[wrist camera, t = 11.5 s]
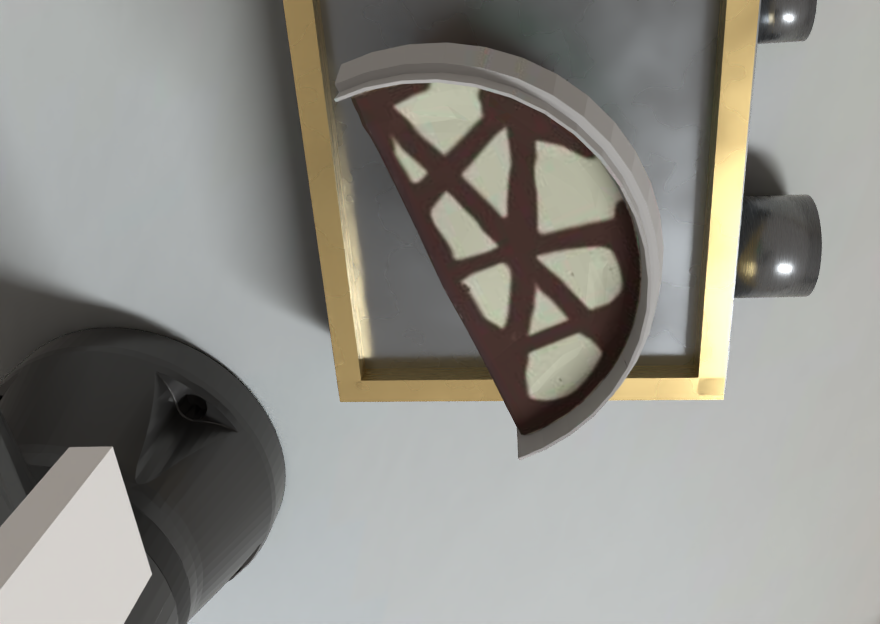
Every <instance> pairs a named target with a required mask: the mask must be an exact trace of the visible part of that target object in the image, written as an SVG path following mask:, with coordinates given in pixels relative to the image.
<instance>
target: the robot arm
mask: <svg viewBox="0 0 880 624" xmlns="http://www.w3.org/2000/svg"><path fill="white" fill-rule="evenodd" d="M285 477H286V475H285V463H284V457H283V452H282V448H281V445H280V442H279V439H278V436H277V434H276V431H275V429H274V427H273V425H272V423H271V421H270V419H269V418H268V416H267V414H266V413H265V411H264V410H263V408H262V407H261V405H260V404H259V402H258V401H257V400H256V399H255V397H254V396H253V395H252V394H251V393H250V391H249V390H248V389H247V388H246V387H245V386H244V385H243V384H242V383H241V382H240V381H239V380H238V379H237V378H236V377H235V376H233V375H232V374H231V373H230V372H229V371H228V370H226V369H225V368H224V367H222V366H221V365H220V364H218V363H217V362H215V361H214V360H212V359H211V358H209V357H208V356H206V355H204V354H202V353H201V352H199V351H197V350H195V349H193V348H191V347H189V346H187V345H185V344H183V343H180V342H178V341H175V340H173V339H170V338H167V337H164V336H161V335H157V334H154V333H149V332H145V331H140V330H133V329H124V328H96V329H88V330H83V331H78V332H74V333H70V334H67V335H64V336H62V337H59V338H56V339H54V340H52V341H50V342H48V343H47V344H45V345H43V346H42V347H40V348H39V349H37V350H36V351H35V352H33V353H32V354H31V355H30V356H29V357H28V358H27V359H25V360H24V361H23V362H22V363H21V364H20V365H19V366H17V367H16V368H15V369H14V370H13V371H12V372H11V373H10V374H9V375H7V376H6V377H5V378H4V379H3V381H2V382H1V383H0V624H187V622H188V621H189V620H190V619H191V618H192V617H193V616H194V615H195V614H196V613H197V612H198V611H199V610H200V609H201V608H202V607H203V606H204V605H205V604H206V603H207V602H208V601H209V600H210V599H211V598H212V597H213V596H214V595H215V594H216V593H217V592H218V591H219V590H220V589H221V588H222V587H223V586H224V585H225V584H226V583H227V582H228V581H230V580H231V579H233V578H234V577H235V576H236V575H237V574H238V573H240V572H241V571H242V570H243V569H244V568H245V567H246V566H247V565H248V564H249V563H250V562H251V561H252V560H253V559H254V557H255V556H256V555H257V553H258V552H259V551H260V549H261V548H262V546H263V544H264V543H265V541H266V539H267V537H268V535H269V532H270V530H271V528H272V525H273V523H274V521H275V518H276V516H277V514H278V511H279V509H280V506H281V503H282V500H283V496H284V490H285Z"/></svg>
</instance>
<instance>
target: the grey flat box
mask: <svg viewBox="0 0 880 624" xmlns="http://www.w3.org/2000/svg"><path fill="white" fill-rule="evenodd" d="M816 5H817V0H283V6H284V13H285V20H286V27H287V34H288V41H289V48H290V55H291V62H292V69H293V76H294V83H295V90H296V97H297V104H298V111H299V118H300V125H301V132H302V139H303V146H304V153H305V160H306V167H307V174H308V181H309V188H310V195H311V202H312V209H313V216H314V223H315V230H316V237H317V244H318V251H319V258H320V265H321V272H322V279H323V286H324V293H325V300H326V307H327V314H328V321H329V328H330V335H331V342H332V349H333V356H334V363H335V370H336V377H337V384H338V391H339V397H340V402H394V401H503V399H502V397H501V395H500V393H499V391H498V389H497V387H496V385H495V383H494V381H493V379H492V377H491V375H490V373H489V371H488V369H487V367H486V365H485V363H484V361H483V359H482V357H481V356H480V354H479V352H478V350H477V348H476V346H475V344H474V342H473V341H472V339H471V337H470V335H469V333H468V331H467V329H466V328H465V326H464V324H463V322H462V320H461V319H460V317H459V315H458V313H457V311H456V310H455V308H454V306H453V304H452V303H451V301H450V299H449V297H448V295H447V294H446V292H445V290H444V288H443V286H442V284H441V282H440V280H439V278H438V276H437V273H436V271H435V269H434V267H433V265H432V263H431V260H430V258H429V256H428V254H427V252H426V249H425V247H424V245H423V243H422V241H421V239H420V236H419V234H418V232H417V230H416V228H415V226H414V224H413V222H412V219H411V217H410V215H409V213H408V211H407V209H406V207H405V205H404V203H403V201H402V199H401V197H400V195H399V193H398V190H397V188H396V186H395V184H394V182H393V180H392V178H391V176H390V174H389V172H388V170H387V168H386V166H385V164H384V162H383V160H382V158H381V156H380V154H379V152H378V150H377V148H376V147H375V145H374V143H373V141H372V139H371V137H370V136H369V134H368V133H367V132H366V130H365V129H364V127H363V126H362V123H361V120H360V118H359V115H358V113H357V111H356V109H355V107H354V105H353V103H352V100H351V97H352V96H351V97H348V98H346V99H343V100H340V101H338V102H335V100H334V98H335V97H336V96H337V95H338V93H339V91H338V90H337V88H336V86H335V81H336V78H337V75H338V72H339V70H340V67H341V64H343V63H346V62H348V61H351V60H354V59H356V58H359V57H361V56H364V55H366V54H369V53H371V52H375V51H380V50H385V49H389V48H394V47H399V46H403V45H408V44H425V43H456V44H464V45H473V46H481V47H487V48H491V49H494V50H498V51H501V52H505V53H508V54H512V55H515V56H519V57H522V58H524V59H526V60H528V61H531V62H533V63H535V64H537V65H539V66H541V67H543V68H545V69H547V70H550V71H552V72H554V73H556V74H558V75H559V76H561V77H562V78H563V79H565V80H566V81H568V82H569V83H571V84H572V85H573V86H575V87H576V88H578V89H579V90H581V91H582V92H583V93H585V94H586V95H588V96H589V97H590V98H591V99H592V100H593V101H594V102H595V103H596V104H597V105H598V106H599V107H600V108H601V109H602V110H603V111H604V112H605V113H606V114H607V115H608V116H609V117H610V118H611V119H612V120H613V121H614V122H615V123H616V125H617V126H618V127H619V129H620V130H621V131H622V133H623V134H624V136H625V137H626V138H627V140H628V141H629V143H630V144H631V145H632V147H633V148H634V149H635V151H636V153H637V155H638V157H639V159H640V161H641V163H642V165H643V167H644V169H645V171H646V173H647V175H648V178H649V180H650V182H651V185H652V188H653V192H654V195H655V199H656V202H657V206H658V209H659V213H660V218H661V227H662V237H663V246H664V251H663V265H662V279H661V285H660V291H659V296H658V301H657V306H656V310H655V313H654V317H653V321H652V325H651V329H650V333H649V335H648V338H647V340H646V342H645V344H644V347H643V349H642V351H641V353H640V356H639V358H638V360H637V362H636V363H635V365H634V367H633V368H632V370H631V371H630V373H629V374H628V376H627V377H626V379H625V380H624V382H623V383H622V385H621V386H620V387H619V389H618V390H617V391H616V392H615V393H614V395H613V396H612V397H611V398H610V399H609V400H723V396H724V393H725V389H726V378H727V367H728V356H729V345H730V335H731V324H732V313H733V302H734V298H759V297H805V296H808V295H810V294H811V292H812V291H813V289H814V287H815V285H816V282H817V279H818V275H819V270H820V263H821V252H822V237H821V226H820V220H819V215H818V211H817V208H816V205H815V203H814V201H813V199H812V198H811V197H810V196H809V195H781V196H752V197H743V194H744V183H745V172H746V161H747V150H748V139H749V129H750V118H751V107H752V96H753V85H754V74H755V64H756V53H757V44H761V43H779V42H797V41H805V40H806V39H807V38H808V36H809V34H810V32H811V29H812V26H813V23H814V18H815V13H816Z"/></svg>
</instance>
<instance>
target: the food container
mask: <svg viewBox="0 0 880 624" xmlns="http://www.w3.org/2000/svg"><path fill="white" fill-rule="evenodd" d="M335 86H336V88H337V90H338V91H339V93H338V95H337V96H336V97H335V98H334V100H335V102H338V101H340V100H343V99H346V98H348V97H351V96H352V97H351V100H352V103H353V105H354V107H355V109H356V111H357V113H358V115H359V118H360V120H361V123H362V126H363V127H364V129H365V130H366V132H367V133H368V134H369V136H370V137H371V139H372V141H373V143H374V145H375V147H376V148H377V150H378V152H379V154H380V156H381V158H382V160H383V162H384V164H385V166H386V168H387V170H388V172H389V174H390V176H391V178H392V180H393V182H394V184H395V186H396V188H397V190H398V193H399V195H400V197H401V199H402V201H403V203H404V205H405V207H406V209H407V211H408V213H409V215H410V217H411V219H412V222H413V224H414V226H415V228H416V230H417V232H418V234H419V236H420V239H421V241H422V243H423V245H424V247H425V249H426V252H427V254H428V256H429V258H430V260H431V263H432V265H433V267H434V269H435V271H436V273H437V276H438V278H439V280H440V282H441V284H442V286H443V288H444V290H445V292H446V294H447V295H448V297H449V299H450V301H451V303H452V304H453V306H454V308H455V310H456V311H457V313H458V315H459V317H460V319H461V320H462V322H463V324H464V326H465V328H466V329H467V331H468V333H469V335H470V337H471V339H472V341H473V342H474V344H475V346H476V348H477V350H478V352H479V354H480V356H481V357H482V359H483V361H484V363H485V365H486V367H487V369H488V371H489V373H490V375H491V377H492V379H493V381H494V383H495V385H496V387H497V389H498V391H499V393H500V395H501V397H502V399H503V401H504V403H505V405H506V407H507V409H508V411H509V412H510V414H511V416H512V418H513V420H514V422H515V424H516V426H517V439H518V459H519V460H522V459H524V458H526V457H529V456H531V455H534V454H536V453H539V452H541V451H543V450H546V449H547V448H549V447H551V446H553V445H554V444H556V443H558V442H559V441H561V440H563V439H565V438H566V437H568V436H570V435H571V434H572V433H574V432H575V431H576V430H577V429H579V428H580V427H581V426H582V425H584V424H585V423H586V422H587V421H589V420H590V419H591V418H592V417H594V416H595V415H596V413H597V412H598V411H599V410H600V409H601V408H602V407H603V406H604V405H605V404H606V402H607V401H608V400H609V399H610V398H611V397H612V396H613V395H614V393H615V392H616V391H617V390H618V389H619V387H620V386H621V385H622V383H623V382H624V380H625V379H626V377H627V376H628V374H629V373H630V371H631V370H632V368H633V367H634V365H635V363H636V362H637V360H638V358H639V356H640V353H641V351H642V349H643V347H644V344H645V342H646V340H647V338H648V335H649V333H650V329H651V325H652V321H653V317H654V313H655V310H656V306H657V301H658V296H659V291H660V285H661V279H662V265H663V251H664V246H663V237H662V227H661V218H660V213H659V209H658V206H657V202H656V199H655V195H654V192H653V188H652V185H651V182H650V180H649V178H648V175H647V173H646V171H645V169H644V167H643V165H642V163H641V161H640V159H639V157H638V155H637V153H636V151H635V149H634V148H633V147H632V145H631V144H630V143H629V141H628V140H627V138H626V137H625V136H624V134H623V133H622V131H621V130H620V129H619V127H618V126H617V125H616V123H615V122H614V121H613V120H612V119H611V118H610V117H609V116H608V115H607V114H606V113H605V112H604V111H603V110H602V109H601V108H600V107H599V106H598V105H597V104H596V103H595V102H594V101H593V100H592V99H591V98H590V97H589V96H588V95H586V94H585V93H583V92H582V91H581V90H579V89H578V88H576V87H575V86H573V85H572V84H571V83H569V82H568V81H566V80H565V79H563V78H562V77H561V76H559V75H558V74H556V73H554V72H552V71H550V70H547V69H545V68H543V67H541V66H539V65H537V64H535V63H533V62H531V61H528V60H526V59H524V58H522V57H519V56H515V55H512V54H508V53H505V52H501V51H498V50H494V49H491V48H487V47H481V46H473V45H464V44H456V43H425V44H408V45H403V46H399V47H394V48H389V49H385V50H380V51H375V52H371V53H369V54H366V55H364V56H361V57H359V58H356V59H354V60H351V61H348V62H346V63H343V64H341V67H340V70H339V72H338V75H337V78H336V81H335Z"/></svg>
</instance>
